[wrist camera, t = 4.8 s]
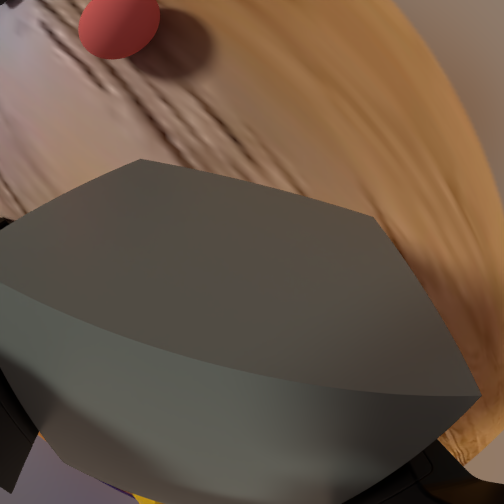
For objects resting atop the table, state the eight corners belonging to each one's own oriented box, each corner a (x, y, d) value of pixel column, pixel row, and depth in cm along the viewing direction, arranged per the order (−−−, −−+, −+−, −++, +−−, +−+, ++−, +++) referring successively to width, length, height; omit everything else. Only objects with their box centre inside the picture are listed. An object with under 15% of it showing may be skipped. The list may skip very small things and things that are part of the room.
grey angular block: (299, 376, 12) (297, 524, 6) (133, 333, 12) (63, 462, 6) (373, 216, 9) (481, 395, 3) (140, 158, 9) (-41, 258, 3)
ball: (162, 64, 16) (125, 53, 11) (99, 63, 16) (54, 58, 11) (179, -3, 13) (149, -30, 9) (115, 1, 13) (74, -17, 9)
